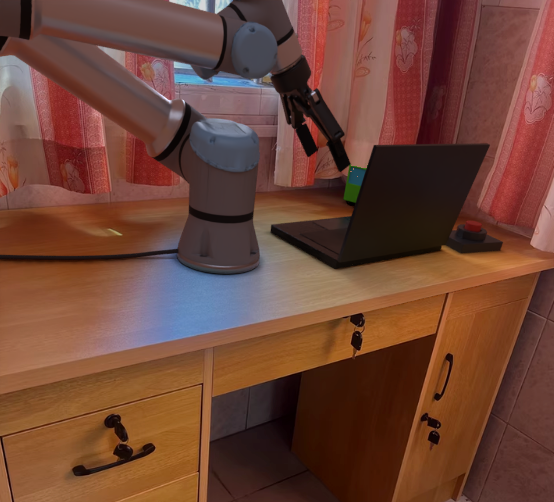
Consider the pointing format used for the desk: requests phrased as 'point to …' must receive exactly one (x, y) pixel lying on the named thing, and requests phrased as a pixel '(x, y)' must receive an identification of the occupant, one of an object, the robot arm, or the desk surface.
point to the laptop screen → (410, 198)
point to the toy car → (353, 183)
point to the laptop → (329, 241)
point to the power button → (473, 226)
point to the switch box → (472, 241)
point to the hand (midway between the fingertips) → (328, 160)
